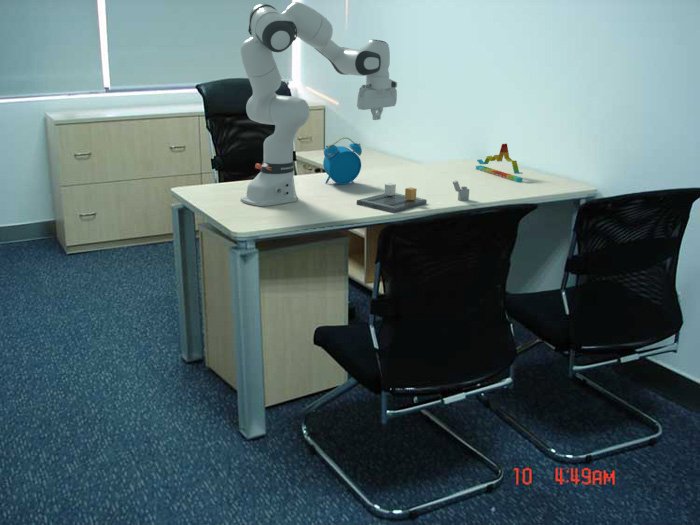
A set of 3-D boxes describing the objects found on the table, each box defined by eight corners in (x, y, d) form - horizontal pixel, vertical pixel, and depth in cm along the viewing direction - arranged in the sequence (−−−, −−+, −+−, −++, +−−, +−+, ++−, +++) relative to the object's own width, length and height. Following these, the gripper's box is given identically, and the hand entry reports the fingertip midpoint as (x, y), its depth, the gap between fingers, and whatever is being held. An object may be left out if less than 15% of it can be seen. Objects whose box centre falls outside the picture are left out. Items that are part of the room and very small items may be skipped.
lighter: (466, 199, 297) (467, 179, 295) (468, 199, 296) (470, 179, 293) (451, 200, 294) (452, 180, 292) (453, 201, 293) (455, 181, 290)
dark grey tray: (393, 212, 274) (394, 208, 274) (356, 204, 286) (356, 200, 285) (426, 203, 289) (426, 199, 288) (389, 195, 300) (389, 191, 299)
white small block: (390, 195, 291) (390, 185, 290) (384, 194, 293) (384, 184, 292) (395, 194, 293) (395, 184, 292) (389, 193, 295) (389, 183, 294)
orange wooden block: (411, 200, 285) (411, 189, 284) (404, 198, 287) (405, 188, 286) (416, 198, 287) (416, 188, 286) (409, 197, 289) (410, 187, 288)
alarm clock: (353, 179, 327) (354, 133, 320) (364, 184, 318) (365, 137, 312) (317, 182, 320) (318, 135, 313) (327, 187, 311) (328, 139, 305)
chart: (475, 169, 355) (477, 137, 350) (480, 169, 356) (483, 137, 351) (516, 182, 329) (519, 148, 324) (522, 182, 330) (525, 148, 326)
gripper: (366, 85, 282) (365, 123, 286) (400, 82, 297) (398, 118, 301) (353, 84, 286) (352, 121, 290) (387, 81, 300) (386, 116, 305)
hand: (376, 119), depth 296 cm, fingers closed
